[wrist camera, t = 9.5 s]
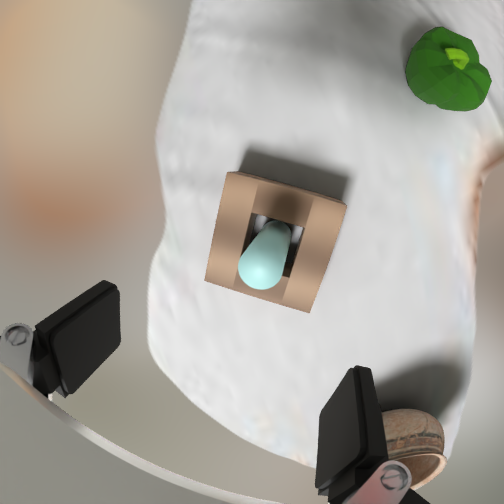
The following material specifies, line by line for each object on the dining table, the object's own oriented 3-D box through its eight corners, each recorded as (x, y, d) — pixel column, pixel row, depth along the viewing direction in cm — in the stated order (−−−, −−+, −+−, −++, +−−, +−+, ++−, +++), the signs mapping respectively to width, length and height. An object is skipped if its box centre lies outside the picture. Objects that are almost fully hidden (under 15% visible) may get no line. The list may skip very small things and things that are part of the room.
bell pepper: (457, 65, 18) (501, 39, 9) (458, 126, 21) (511, 116, 11) (394, 40, 19) (423, -2, 10) (393, 103, 22) (431, 76, 13)
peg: (265, 216, 28) (243, 241, 19) (294, 225, 28) (288, 254, 19) (257, 245, 29) (233, 281, 20) (286, 253, 29) (275, 294, 20)
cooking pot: (458, 408, 31) (477, 458, 20) (385, 461, 38) (389, 507, 26) (371, 361, 31) (386, 434, 20) (288, 429, 38) (278, 490, 26)
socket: (237, 171, 28) (227, 172, 24) (341, 200, 26) (347, 205, 23) (216, 267, 31) (204, 280, 27) (309, 295, 30) (309, 313, 26)
